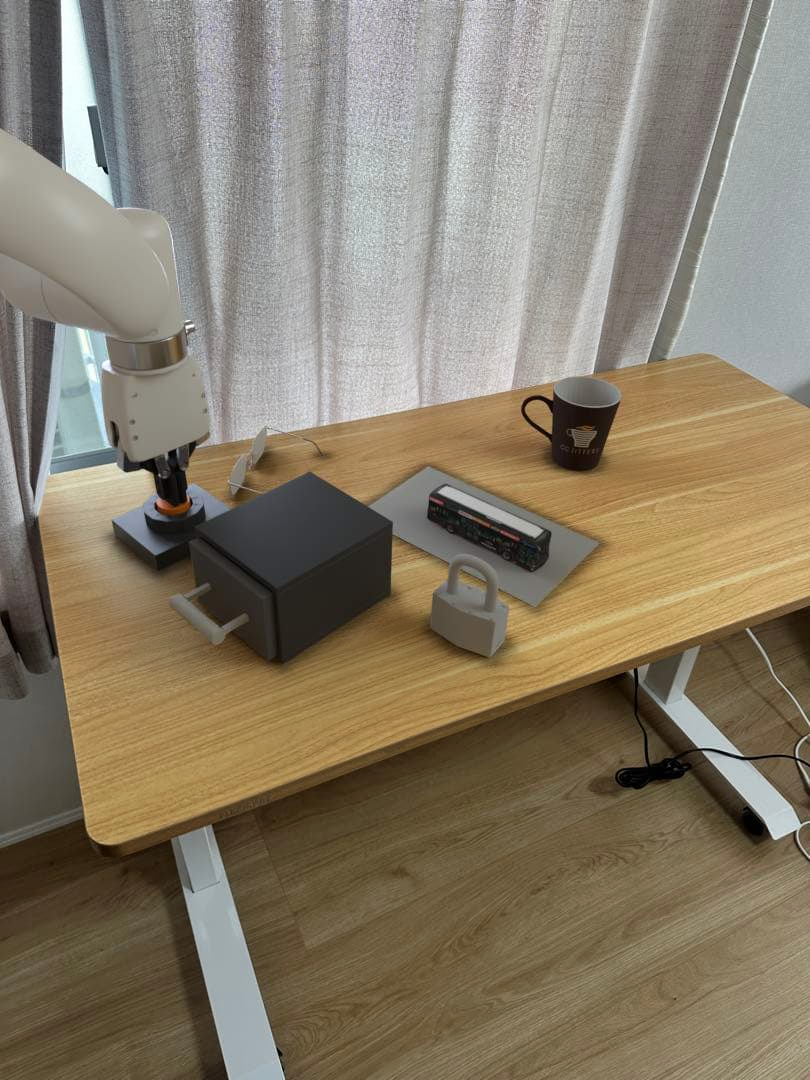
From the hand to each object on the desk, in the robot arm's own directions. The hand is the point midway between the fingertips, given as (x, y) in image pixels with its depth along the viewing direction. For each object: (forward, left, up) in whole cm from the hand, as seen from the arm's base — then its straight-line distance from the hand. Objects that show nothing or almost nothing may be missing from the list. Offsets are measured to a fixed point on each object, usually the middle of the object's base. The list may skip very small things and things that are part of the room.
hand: (173, 499), depth 90 cm
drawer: (+15, -10, -4) cm, 19 cm away
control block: (0, 0, -5) cm, 5 cm away
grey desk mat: (+33, +10, -5) cm, 35 cm away
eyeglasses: (+7, +14, -5) cm, 16 cm away
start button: (0, 0, -2) cm, 2 cm away
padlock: (+35, -8, -5) cm, 36 cm away
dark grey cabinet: (+17, -7, -5) cm, 19 cm away
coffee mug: (+42, +30, -5) cm, 52 cm away
